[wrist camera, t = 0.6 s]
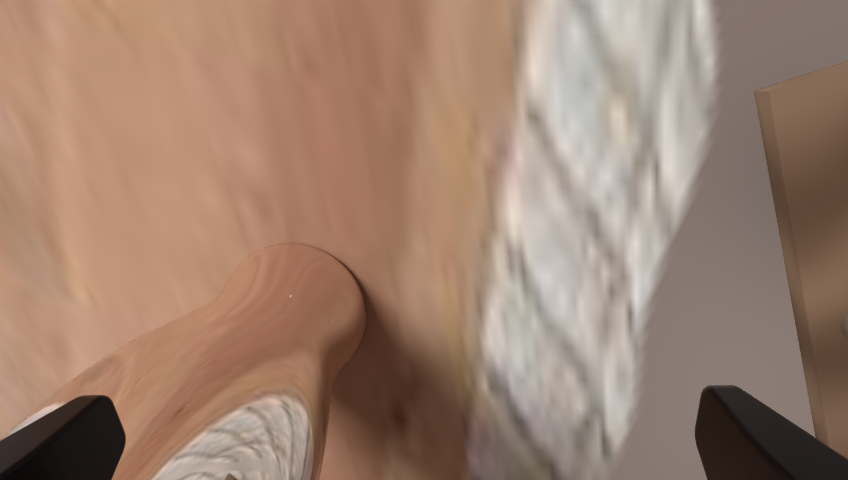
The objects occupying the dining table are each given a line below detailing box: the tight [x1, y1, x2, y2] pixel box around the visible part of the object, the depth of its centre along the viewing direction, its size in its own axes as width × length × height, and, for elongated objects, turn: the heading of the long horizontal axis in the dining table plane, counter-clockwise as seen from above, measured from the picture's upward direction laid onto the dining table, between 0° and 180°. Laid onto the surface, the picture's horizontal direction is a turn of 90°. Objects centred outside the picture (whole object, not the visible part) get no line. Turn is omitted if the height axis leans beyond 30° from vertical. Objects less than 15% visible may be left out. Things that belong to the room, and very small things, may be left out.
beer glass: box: [0, 244, 366, 480], centre depth 17 cm, size 7×7×15 cm
